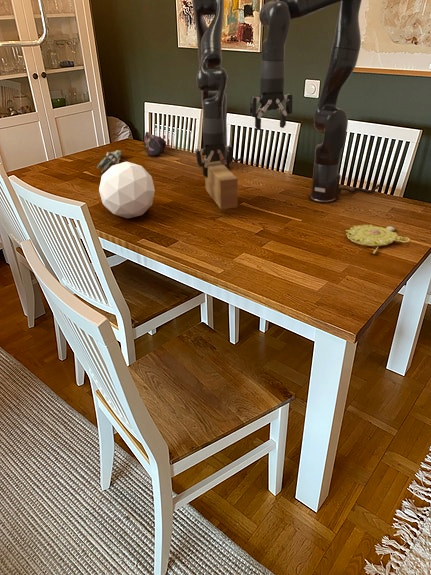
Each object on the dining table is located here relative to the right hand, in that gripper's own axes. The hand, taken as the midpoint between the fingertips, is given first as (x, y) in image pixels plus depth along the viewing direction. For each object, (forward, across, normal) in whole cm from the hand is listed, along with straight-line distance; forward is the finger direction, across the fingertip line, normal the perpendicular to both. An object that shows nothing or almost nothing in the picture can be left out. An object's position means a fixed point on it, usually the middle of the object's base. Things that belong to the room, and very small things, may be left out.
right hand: (270, 128), depth 150 cm
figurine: (+29, -50, +76) cm, 95 cm away
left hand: (+18, -16, +14) cm, 28 cm away
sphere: (+29, -50, +11) cm, 58 cm away
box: (+25, -16, +7) cm, 30 cm away
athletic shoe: (+29, -25, +90) cm, 98 cm away
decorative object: (+29, +22, -36) cm, 51 cm away
